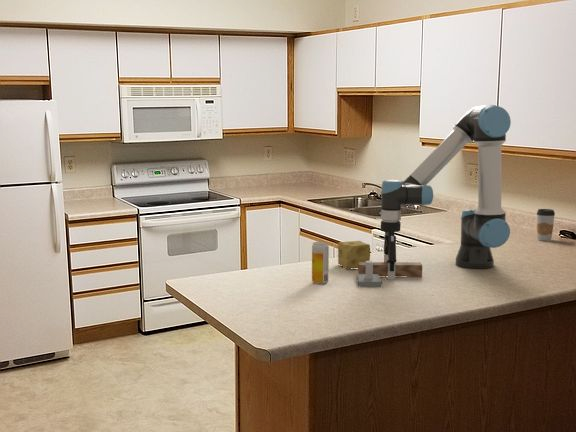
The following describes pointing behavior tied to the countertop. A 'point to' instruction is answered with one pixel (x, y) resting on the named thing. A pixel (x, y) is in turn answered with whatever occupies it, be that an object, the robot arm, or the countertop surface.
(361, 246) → the cheese
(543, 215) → the coffee cup
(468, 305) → the countertop surface
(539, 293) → the countertop surface
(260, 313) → the countertop surface
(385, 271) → the walnut bar
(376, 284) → the fulcrum
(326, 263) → the beer can
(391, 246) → the robot arm
